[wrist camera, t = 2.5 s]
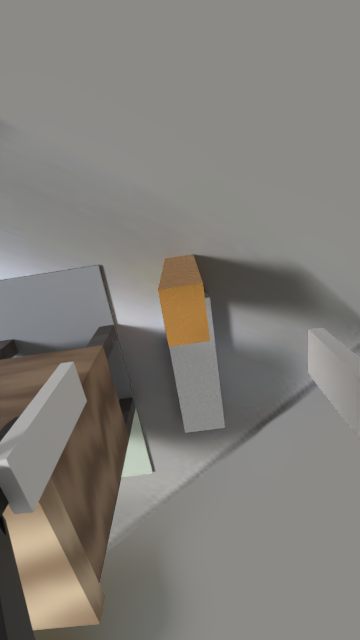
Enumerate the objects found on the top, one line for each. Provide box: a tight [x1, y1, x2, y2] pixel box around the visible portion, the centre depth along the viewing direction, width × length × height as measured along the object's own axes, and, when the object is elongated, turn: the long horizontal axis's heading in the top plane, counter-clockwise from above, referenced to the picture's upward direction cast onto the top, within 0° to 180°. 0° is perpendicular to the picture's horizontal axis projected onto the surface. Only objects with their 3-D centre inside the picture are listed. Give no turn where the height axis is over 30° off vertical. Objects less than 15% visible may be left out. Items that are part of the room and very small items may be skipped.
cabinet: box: [0, 325, 135, 630], centre depth 29 cm, size 15×17×24 cm
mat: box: [0, 265, 153, 477], centre depth 42 cm, size 36×16×1 cm, turn 9°
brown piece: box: [158, 255, 225, 433], centre depth 33 cm, size 26×6×14 cm, turn 9°
